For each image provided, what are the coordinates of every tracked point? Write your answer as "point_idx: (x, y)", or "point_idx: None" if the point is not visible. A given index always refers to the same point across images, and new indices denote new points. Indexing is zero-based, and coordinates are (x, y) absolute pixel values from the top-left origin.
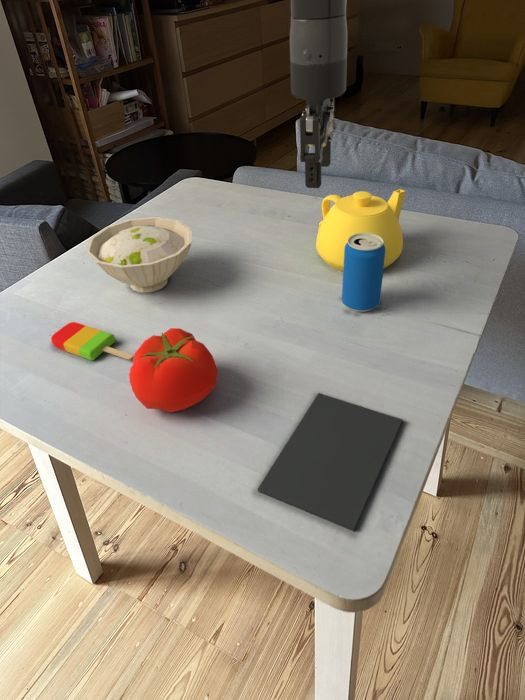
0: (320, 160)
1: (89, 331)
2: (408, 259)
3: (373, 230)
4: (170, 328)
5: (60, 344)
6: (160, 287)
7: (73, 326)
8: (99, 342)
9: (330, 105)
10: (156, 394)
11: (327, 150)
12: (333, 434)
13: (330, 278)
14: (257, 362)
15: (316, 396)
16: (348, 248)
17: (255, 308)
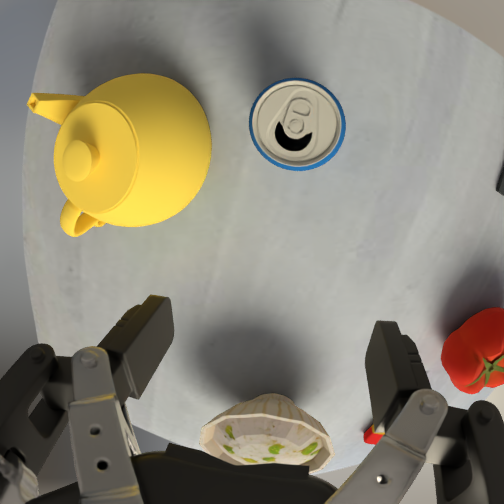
0: (444, 399)
1: None
2: (148, 67)
3: (159, 118)
4: (464, 382)
5: None
6: (285, 397)
7: (372, 439)
8: None
9: (2, 457)
10: None
11: (142, 339)
12: None
13: (225, 184)
14: (443, 267)
15: (502, 193)
16: (319, 162)
17: (327, 289)
